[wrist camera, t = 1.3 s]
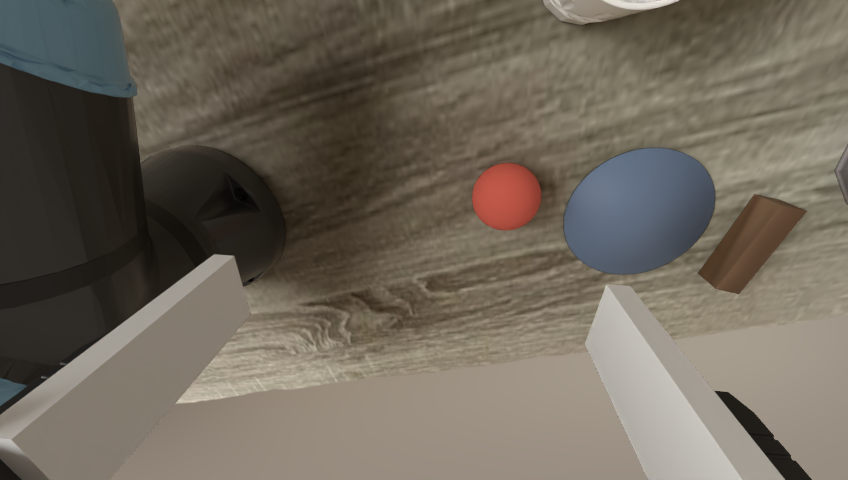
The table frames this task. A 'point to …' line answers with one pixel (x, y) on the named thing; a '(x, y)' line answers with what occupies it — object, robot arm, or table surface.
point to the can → (843, 174)
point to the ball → (506, 196)
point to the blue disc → (639, 211)
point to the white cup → (599, 9)
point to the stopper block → (750, 243)
